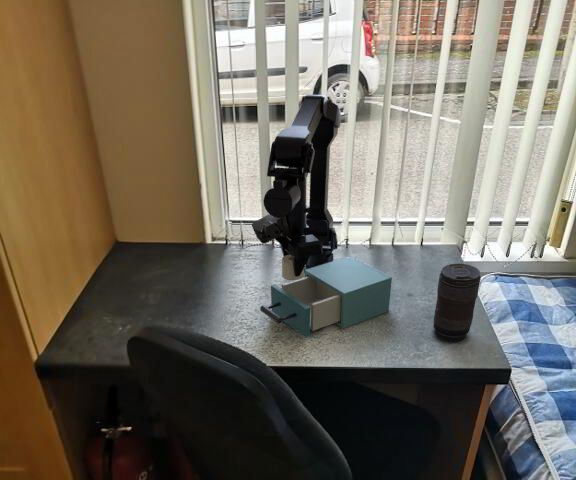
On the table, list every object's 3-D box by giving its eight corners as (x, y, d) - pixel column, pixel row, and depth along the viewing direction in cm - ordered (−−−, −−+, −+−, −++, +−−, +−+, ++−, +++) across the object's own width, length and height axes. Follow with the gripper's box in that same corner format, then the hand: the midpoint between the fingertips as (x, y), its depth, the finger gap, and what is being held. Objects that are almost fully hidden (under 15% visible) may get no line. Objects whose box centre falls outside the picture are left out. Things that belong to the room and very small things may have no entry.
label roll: (292, 282, 124) (291, 265, 122) (277, 275, 127) (277, 258, 124) (308, 276, 126) (308, 258, 124) (293, 269, 129) (293, 252, 127)
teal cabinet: (342, 328, 126) (344, 293, 121) (304, 303, 136) (304, 269, 131) (388, 311, 133) (392, 277, 127) (348, 288, 142) (350, 255, 137)
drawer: (286, 344, 120) (285, 315, 116) (253, 318, 129) (251, 291, 125) (350, 320, 128) (352, 292, 124) (315, 297, 137) (315, 271, 133)
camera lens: (426, 326, 127) (435, 263, 118) (461, 324, 127) (473, 261, 118) (436, 345, 120) (447, 280, 111) (474, 343, 121) (488, 278, 112)
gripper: (241, 192, 122) (245, 261, 131) (270, 221, 108) (273, 296, 117) (289, 186, 125) (290, 253, 134) (324, 213, 111) (322, 286, 120)
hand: (293, 271), depth 126 cm, fingers closed on label roll, 5 cm apart
